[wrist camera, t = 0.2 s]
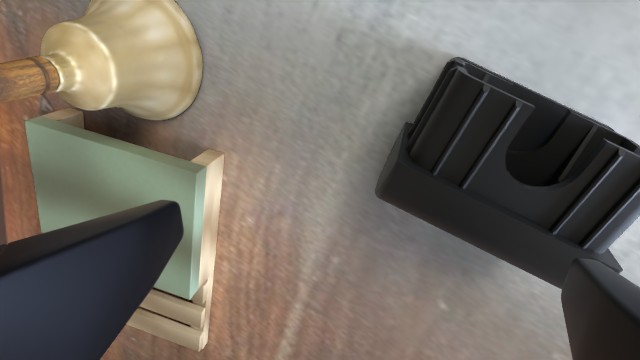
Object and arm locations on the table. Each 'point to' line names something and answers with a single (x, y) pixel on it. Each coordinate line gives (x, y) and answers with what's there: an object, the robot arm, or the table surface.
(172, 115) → the hand bell
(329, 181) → the table surface
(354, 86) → the table surface
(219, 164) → the rack
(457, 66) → the end cap
